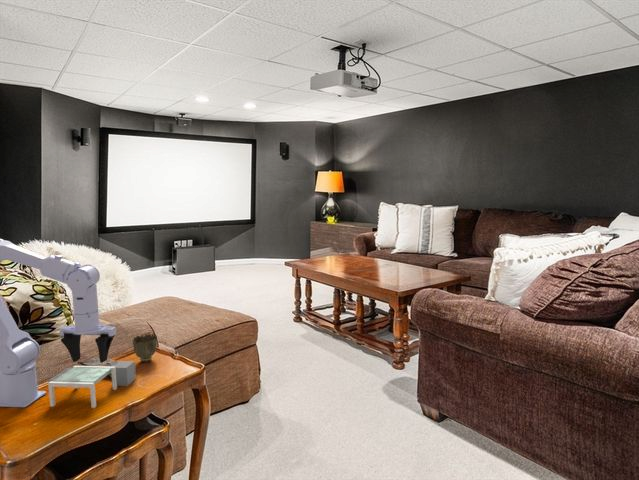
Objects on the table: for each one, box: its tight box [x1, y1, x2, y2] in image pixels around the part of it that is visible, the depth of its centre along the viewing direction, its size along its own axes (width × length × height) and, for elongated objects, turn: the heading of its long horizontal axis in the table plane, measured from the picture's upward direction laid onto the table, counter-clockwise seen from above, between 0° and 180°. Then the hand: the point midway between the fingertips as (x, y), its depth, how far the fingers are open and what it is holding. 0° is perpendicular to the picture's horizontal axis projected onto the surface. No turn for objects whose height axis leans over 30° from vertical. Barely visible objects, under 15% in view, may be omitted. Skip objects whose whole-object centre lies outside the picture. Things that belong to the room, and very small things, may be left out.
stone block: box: [111, 360, 137, 387], centre depth 123 cm, size 5×5×6 cm
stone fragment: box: [81, 355, 119, 378], centre depth 134 cm, size 25×3×10 cm
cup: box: [131, 333, 158, 363], centre depth 138 cm, size 8×7×8 cm
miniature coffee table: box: [47, 365, 118, 409], centre depth 114 cm, size 12×11×6 cm
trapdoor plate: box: [47, 366, 111, 385], centre depth 114 cm, size 12×8×2 cm
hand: (90, 360), depth 113 cm, fingers open, 7 cm apart
